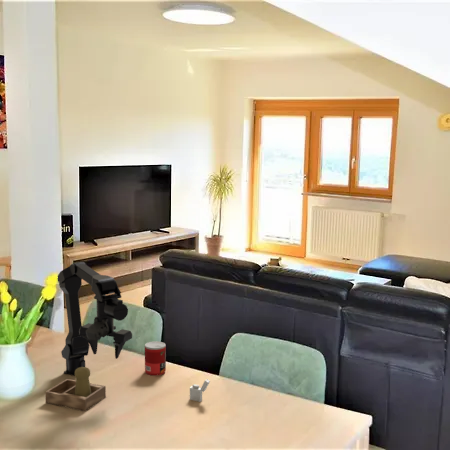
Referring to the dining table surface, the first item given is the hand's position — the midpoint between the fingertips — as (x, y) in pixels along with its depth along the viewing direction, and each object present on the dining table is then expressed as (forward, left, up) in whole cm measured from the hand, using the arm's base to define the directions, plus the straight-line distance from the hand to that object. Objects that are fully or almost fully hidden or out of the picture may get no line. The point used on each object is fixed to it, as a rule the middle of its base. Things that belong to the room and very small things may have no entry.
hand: (105, 356), depth 216 cm
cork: (-2, -11, -12) cm, 16 cm away
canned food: (+8, +22, -13) cm, 27 cm away
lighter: (+34, +6, -13) cm, 37 cm away
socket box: (-5, -11, -13) cm, 17 cm away
